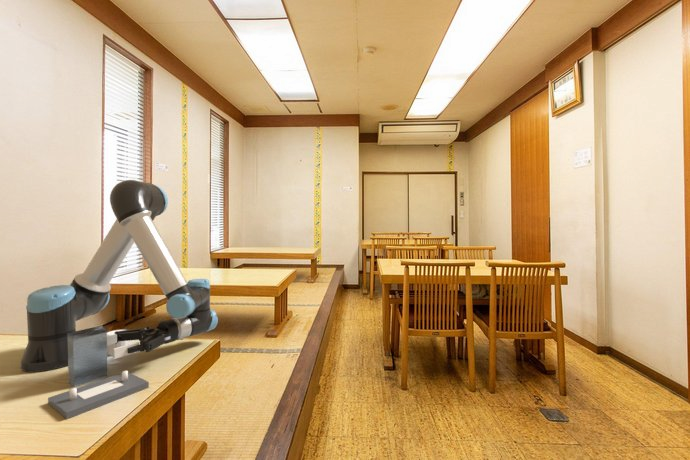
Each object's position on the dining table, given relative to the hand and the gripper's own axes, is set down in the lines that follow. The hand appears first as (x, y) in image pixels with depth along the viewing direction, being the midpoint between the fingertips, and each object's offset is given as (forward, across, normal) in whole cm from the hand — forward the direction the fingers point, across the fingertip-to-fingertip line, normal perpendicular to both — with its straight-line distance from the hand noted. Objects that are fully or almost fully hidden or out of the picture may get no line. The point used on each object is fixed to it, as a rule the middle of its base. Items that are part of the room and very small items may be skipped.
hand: (102, 349), depth 101 cm
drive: (+3, +1, -8) cm, 9 cm away
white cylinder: (-11, +17, -8) cm, 22 cm away
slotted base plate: (+5, -12, -8) cm, 15 cm away
